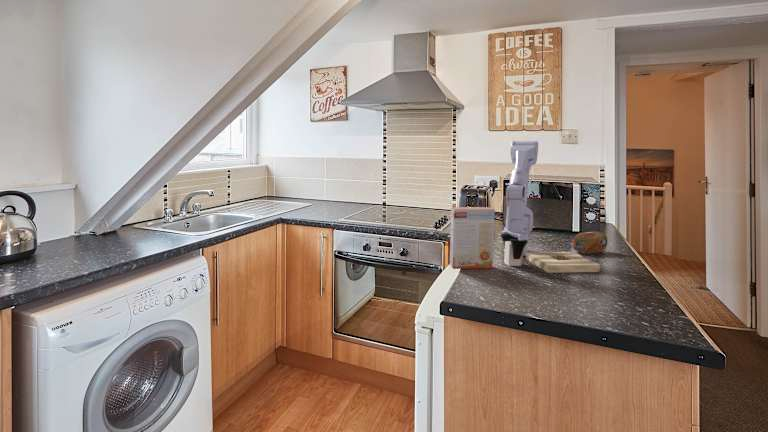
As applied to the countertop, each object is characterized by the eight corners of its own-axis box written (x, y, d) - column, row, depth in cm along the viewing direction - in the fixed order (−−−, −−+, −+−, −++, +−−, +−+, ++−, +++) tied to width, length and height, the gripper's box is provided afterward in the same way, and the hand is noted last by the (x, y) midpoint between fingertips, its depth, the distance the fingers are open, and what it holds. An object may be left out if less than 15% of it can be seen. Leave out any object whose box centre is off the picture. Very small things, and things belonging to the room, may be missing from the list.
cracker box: (487, 264, 150) (490, 206, 147) (492, 269, 144) (495, 208, 141) (448, 264, 149) (450, 206, 146) (452, 269, 144) (454, 208, 140)
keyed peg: (504, 262, 153) (505, 241, 151) (519, 262, 153) (520, 240, 152) (508, 265, 148) (509, 243, 147) (524, 265, 149) (525, 243, 147)
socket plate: (525, 258, 158) (526, 252, 158) (571, 258, 160) (572, 251, 159) (547, 272, 140) (548, 265, 140) (599, 271, 142) (600, 264, 141)
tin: (575, 254, 166) (577, 233, 165) (570, 252, 169) (571, 232, 168) (607, 252, 170) (609, 231, 169) (601, 250, 173) (602, 230, 172)
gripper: (496, 215, 155) (494, 251, 157) (511, 222, 141) (509, 261, 143) (515, 215, 155) (513, 251, 157) (531, 222, 141) (529, 261, 143)
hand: (512, 256), depth 150 cm, fingers open, 7 cm apart
